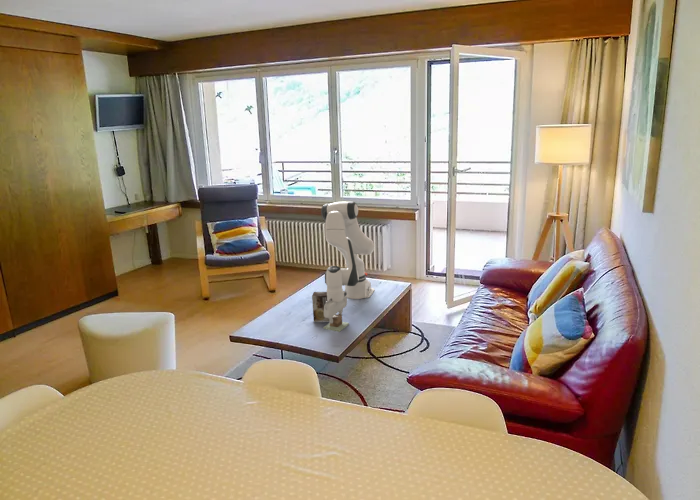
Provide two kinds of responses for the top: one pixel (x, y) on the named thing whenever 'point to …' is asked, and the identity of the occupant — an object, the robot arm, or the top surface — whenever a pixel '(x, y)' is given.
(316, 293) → the coffee box
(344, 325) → the sage board
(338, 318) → the walnut cube
